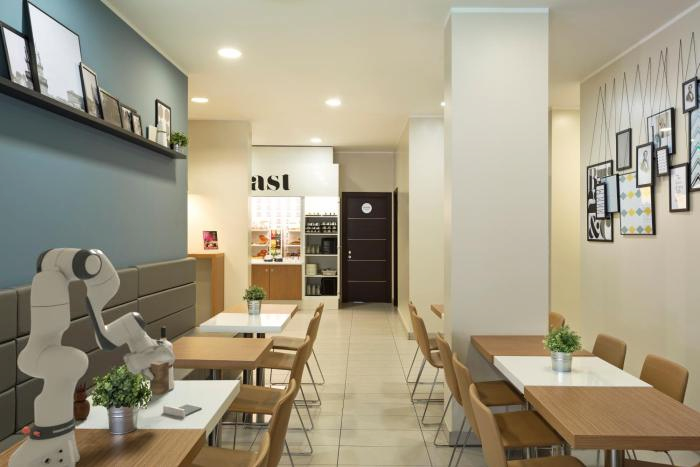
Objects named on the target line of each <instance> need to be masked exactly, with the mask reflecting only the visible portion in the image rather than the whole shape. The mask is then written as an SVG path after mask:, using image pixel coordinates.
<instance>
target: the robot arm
mask: <svg viewBox="0 0 700 467" xmlns="http://www.w3.org/2000/svg"><path fill="white" fill-rule="evenodd" d="M35 267H36V274H35V275H34V276H33V278H32V282H31V289H30V333H29V337H28V341H27V344H26V346H25V347H24V349H22V350H21V352H20V353H19V354H18V357H17V361H16V362H17V367H18V369H19V370H20V372H22V373H24V374H26V375H27V376H29V377H32V378H38V379H43V382H44V383H43V388H42V390H41V393H40V394H38V395H37V396H36V397H35V399H34V402H33V403H34V406H33V407H34V423H33V425H32V427H31V428H30V427H28V426H24V427H23V428H22V430H21V432H22V433H23V434H25V435H28V438H26V440H25V441H24V442H23V443H22V444H21V445H20V446H19V447H18V448H17V449H16V450H15V451H14V452H12V454H10V456H9V459H8V463H7V467H76V464H77V463H78V462H79V461H80V458H81V455H80V453H79V450H78V447H77V443H76V442H77V441H76V436H75V430H76V420H75V417H74V416H73V402H74V394H75V390H76V386H77V383H78V381H79V380H80V379H81V378H82V377H83V376H84V375H85V374H86V371H87V370H88V368H89V357H88V355H87V354H86V353H85V351H82V350H80V349H78V348H75V347H73V346H67V345H66V346H65V345H62V337H63V334H64V333H65V331H66V330H68V329H69V328H70V325H71V309H70V306H71V305H70V293H69V292H70V291H69V284H70V283H71V281H83V282H84V284H85V286H86V288H87V290H86V291H87V293H86V295H85V297H84V298H83V300H84V301H83V302H84V306H85V309H86V311H87V312H86V313H87V315H88V317H89V318H88V319H89V321H90V323H91V326H92V329H93V331H94V337H95V341H96V344H97V345H98V347H99V348H100V349H101V351H103V352H112V353H113V352H114V351H115V350H117V349H118V348H120V347H121V346H122V345H124V344H127V345H128V348H129V350H130V352H129V353H125V354H124V355H123V360H124V363H125V365H126V367H127V370H128V373H129V372H131V373H133V374H136V375H140V374H142V373H143V375H145V376H146V377H147V378H149V380H150V379H151V380H154V379H155V378H156V376H155V374H152V373H151V372H150V367H151V364H150V363H153V362H157V361H166V362H169V365H171V364H172V363H173V364H174V362H175V360H176V355H174V353H172V351H173V350H172V351H171V350H170V349H169V348H168V347H167V346H165V345H166V343H165V341H161V340H160V339H159V340H158V339H154V338H152V337H150V336H149V335H148V334H147V330H148V324H147V322H146V321H145V320H144V319H143V316H142V314H141V313H139V312H136V311H130V312H128V313H126V314H124V315H122V316H121V317H119V318H117V319H115V320H114V321H112V322H110V323H108V324H106V325H105V323H104V320H103V316H102V310H103V308H104V307H105V306H106V305H107V303H108V302H109V301H110V300H111V299H112V298H113V297H114V296H115V295H116V294H117V293H118V291H119V288H120V285H121V280H120V277H119V273H117V271H116V269H115V268H114V264H112V262H111V261H110V259H109V258H108V257H107V256H106V254H104V253H103V252H102V251H101V250H100V249H95V248H91V249H87V248H74V247H73V248H72V247H59V248H55V247H53V248H49V249H46V250H43V251H42V252H41V253H40V254H39V255H38V257H37V260H36V265H35ZM76 462H77V463H76Z"/></svg>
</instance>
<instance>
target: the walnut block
mask: <svg viewBox="0 0 700 467" xmlns="http://www.w3.org/2000/svg"><path fill="white" fill-rule="evenodd" d="M150 364H151V367H150V372H151V373H152V374H155V376H156V378H155V379H154V380H151V379H150V378H149V390H150V389H151V391H152V393H153V394H152V395H155V396H162V395H164V394H167V393H169V392H170V390H169V362H166V361H157V362H153V363H150Z"/></svg>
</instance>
